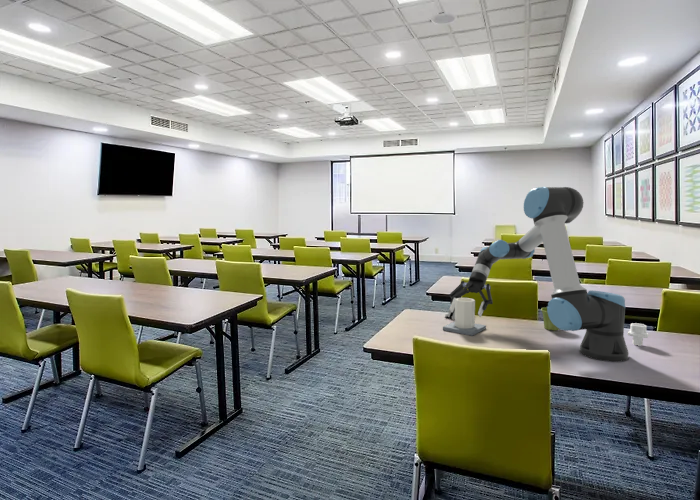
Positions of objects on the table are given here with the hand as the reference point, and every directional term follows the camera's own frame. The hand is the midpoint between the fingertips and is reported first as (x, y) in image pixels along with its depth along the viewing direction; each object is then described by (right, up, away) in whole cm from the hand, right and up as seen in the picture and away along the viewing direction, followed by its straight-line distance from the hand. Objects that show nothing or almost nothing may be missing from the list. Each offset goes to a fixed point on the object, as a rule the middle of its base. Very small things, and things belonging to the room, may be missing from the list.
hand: (464, 313), depth 186 cm
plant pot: (+39, -7, -1) cm, 39 cm away
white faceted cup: (0, -6, 0) cm, 6 cm away
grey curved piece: (+4, -5, +24) cm, 25 cm away
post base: (0, -7, 0) cm, 7 cm away
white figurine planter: (+61, -9, -24) cm, 66 cm away
